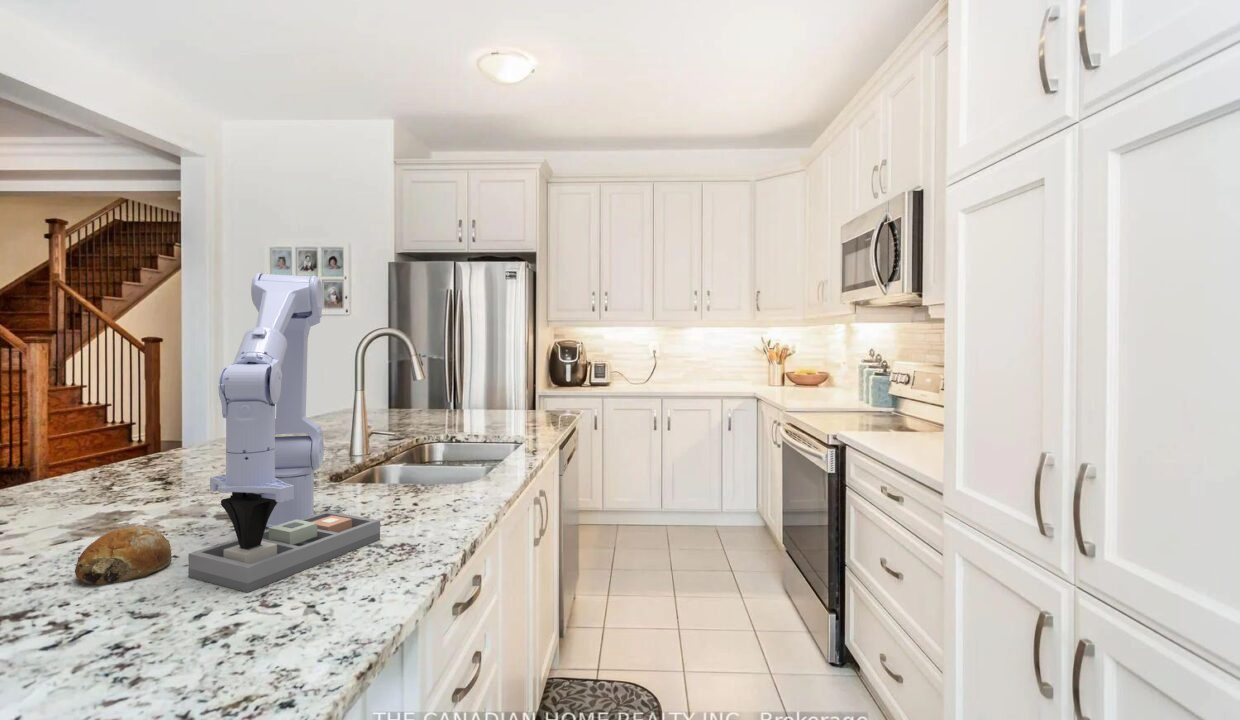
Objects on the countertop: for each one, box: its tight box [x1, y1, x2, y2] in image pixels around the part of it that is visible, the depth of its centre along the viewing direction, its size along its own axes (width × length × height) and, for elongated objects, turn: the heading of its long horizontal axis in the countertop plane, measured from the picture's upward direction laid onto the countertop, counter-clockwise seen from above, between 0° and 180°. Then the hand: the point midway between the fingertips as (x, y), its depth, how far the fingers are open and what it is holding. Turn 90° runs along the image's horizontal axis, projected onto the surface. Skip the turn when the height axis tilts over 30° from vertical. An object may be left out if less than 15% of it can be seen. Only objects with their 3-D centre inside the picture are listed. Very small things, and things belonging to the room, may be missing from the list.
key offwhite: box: [223, 541, 277, 564], centre depth 78 cm, size 4×4×2 cm
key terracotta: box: [313, 515, 352, 533], centre depth 90 cm, size 4×4×2 cm
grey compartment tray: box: [187, 510, 381, 593], centre depth 84 cm, size 12×22×3 cm, turn 158°
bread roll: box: [74, 525, 173, 586], centre depth 78 cm, size 10×10×8 cm
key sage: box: [268, 519, 317, 545], centre depth 84 cm, size 4×4×2 cm
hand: (250, 546), depth 78 cm, fingers closed, pressing on key offwhite
